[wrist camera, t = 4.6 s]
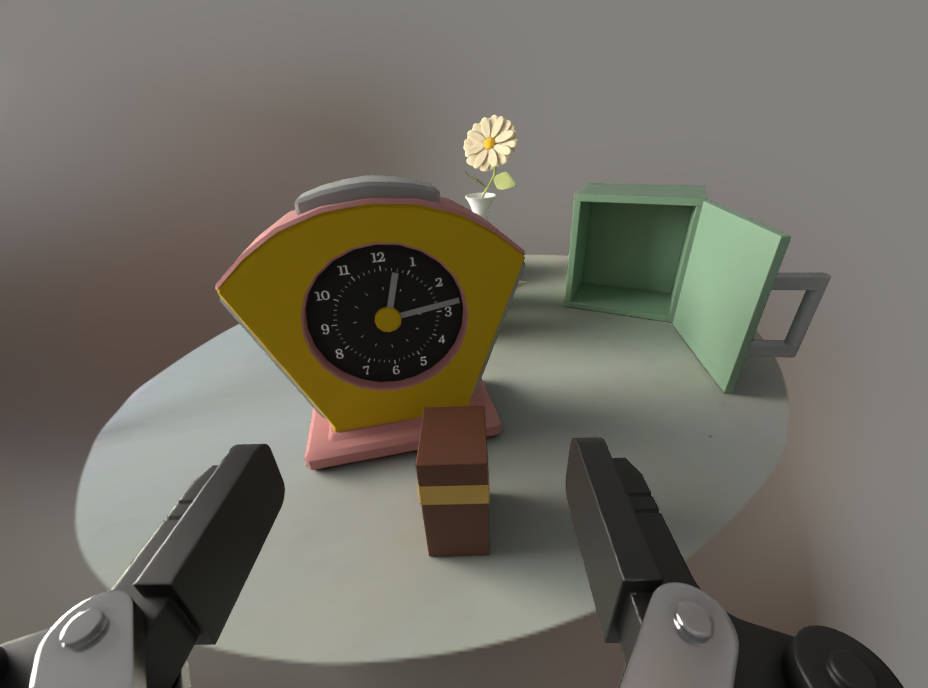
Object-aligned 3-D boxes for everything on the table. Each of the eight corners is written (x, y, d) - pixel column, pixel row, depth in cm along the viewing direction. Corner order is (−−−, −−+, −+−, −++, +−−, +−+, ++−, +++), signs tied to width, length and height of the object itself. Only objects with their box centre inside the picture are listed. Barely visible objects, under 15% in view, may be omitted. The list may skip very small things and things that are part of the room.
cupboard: (675, 323, 52) (707, 198, 44) (563, 306, 58) (574, 193, 50) (677, 297, 59) (705, 185, 51) (577, 285, 65) (588, 183, 57)
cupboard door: (720, 324, 50) (760, 199, 43) (789, 395, 38) (864, 235, 30) (672, 324, 51) (703, 200, 43) (723, 393, 39) (781, 236, 31)
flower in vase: (436, 277, 70) (424, 117, 58) (480, 261, 77) (478, 115, 64) (489, 296, 62) (489, 115, 50) (533, 276, 69) (543, 112, 56)
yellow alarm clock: (273, 481, 32) (157, 204, 21) (292, 409, 39) (214, 181, 29) (530, 431, 35) (544, 173, 24) (500, 375, 43) (500, 161, 32)
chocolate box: (490, 556, 25) (489, 464, 21) (428, 557, 26) (414, 466, 21) (487, 491, 30) (485, 404, 26) (433, 492, 30) (423, 406, 26)
